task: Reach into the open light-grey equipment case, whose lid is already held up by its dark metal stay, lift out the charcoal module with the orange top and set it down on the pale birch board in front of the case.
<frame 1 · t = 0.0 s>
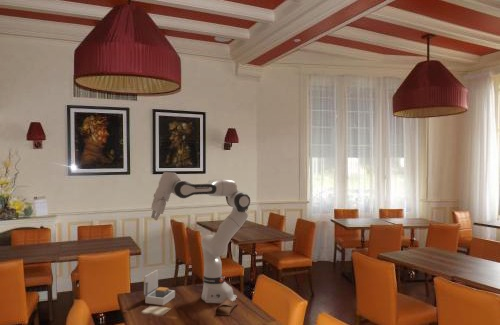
hand: (154, 218, 232), 52 cm above the table, tool tilted 20°, fingers open, 8 cm apart
equipment case: (160, 301, 240), on the table
birch board: (156, 311, 224), on the table
module: (161, 300, 240), point 1 cm above the table, touching equipment case
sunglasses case: (227, 309, 229), on the table, touching arm
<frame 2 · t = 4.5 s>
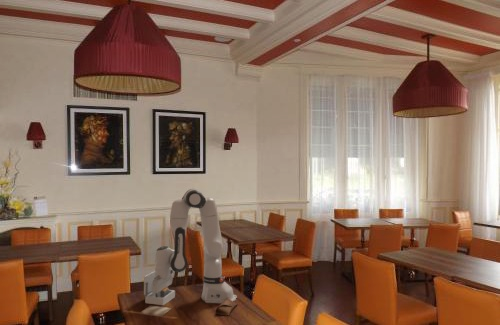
hand: (162, 295, 240), 4 cm above the table, tool pointing down, fingers closed on module, 5 cm apart
module: (161, 300, 240), point 1 cm above the table, touching equipment case, gripper
everything else where it was.
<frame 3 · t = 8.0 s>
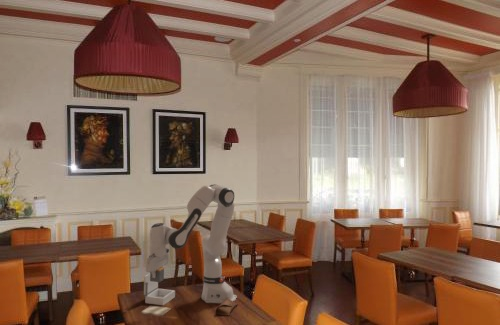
hand: (157, 275, 224), 21 cm above the table, tool pointing down, fingers closed on module, 5 cm apart
module: (157, 280, 224), point 18 cm above the table, touching gripper
everything else where it was.
when the fingers open (5 cm above the table, at t = 11.6 s): module drops 1 cm, resting on birch board.
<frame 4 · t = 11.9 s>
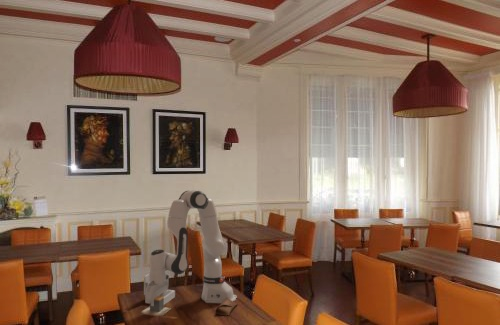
hand: (156, 302, 224), 5 cm above the table, tool pointing down, fingers open, 8 cm apart
module: (156, 309, 224), point 1 cm above the table, touching birch board
everything else where it was.
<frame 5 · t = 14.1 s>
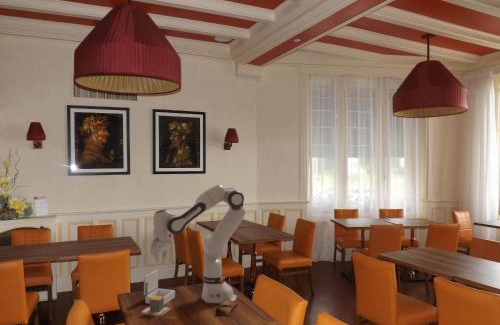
hand: (161, 259, 239), 26 cm above the table, tool pointing down, fingers open, 8 cm apart
nothing on the table moved.
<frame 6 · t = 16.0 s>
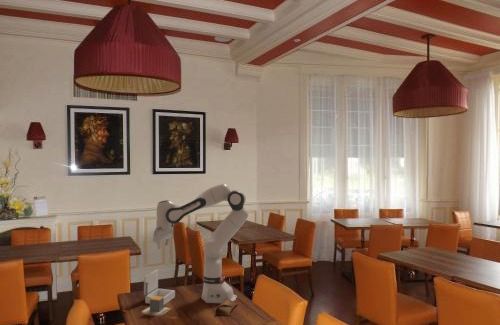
hand: (163, 247, 250), 31 cm above the table, tool pointing down, fingers open, 8 cm apart
nothing on the table moved.
at the end: module inside the target area on the birch board (0.1 cm from its centre), point 1.0 cm above the birch board's base; module tilted 0°; the gripper is holding nothing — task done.
